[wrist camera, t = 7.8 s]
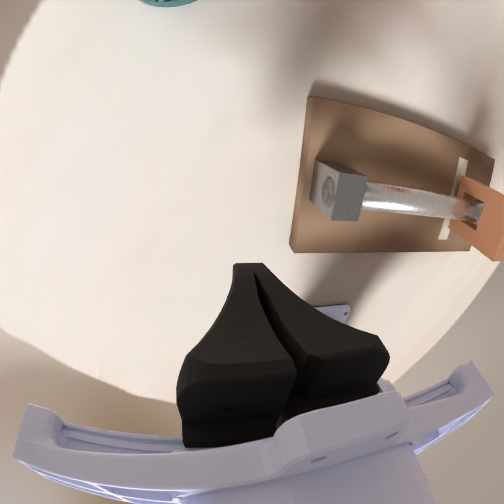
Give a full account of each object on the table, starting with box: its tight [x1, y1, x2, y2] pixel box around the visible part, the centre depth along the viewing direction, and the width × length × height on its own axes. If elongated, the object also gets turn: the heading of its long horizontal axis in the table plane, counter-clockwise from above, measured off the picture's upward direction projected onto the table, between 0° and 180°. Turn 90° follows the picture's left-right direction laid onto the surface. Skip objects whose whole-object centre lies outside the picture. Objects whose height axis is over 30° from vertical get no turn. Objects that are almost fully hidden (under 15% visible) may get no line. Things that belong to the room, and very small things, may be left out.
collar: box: [448, 176, 504, 261], centre depth 18 cm, size 6×2×7 cm, turn 176°
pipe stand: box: [309, 159, 484, 223], centre depth 19 cm, size 3×23×4 cm, turn 86°
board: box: [289, 97, 495, 253], centre depth 21 cm, size 12×24×2 cm, turn 86°
